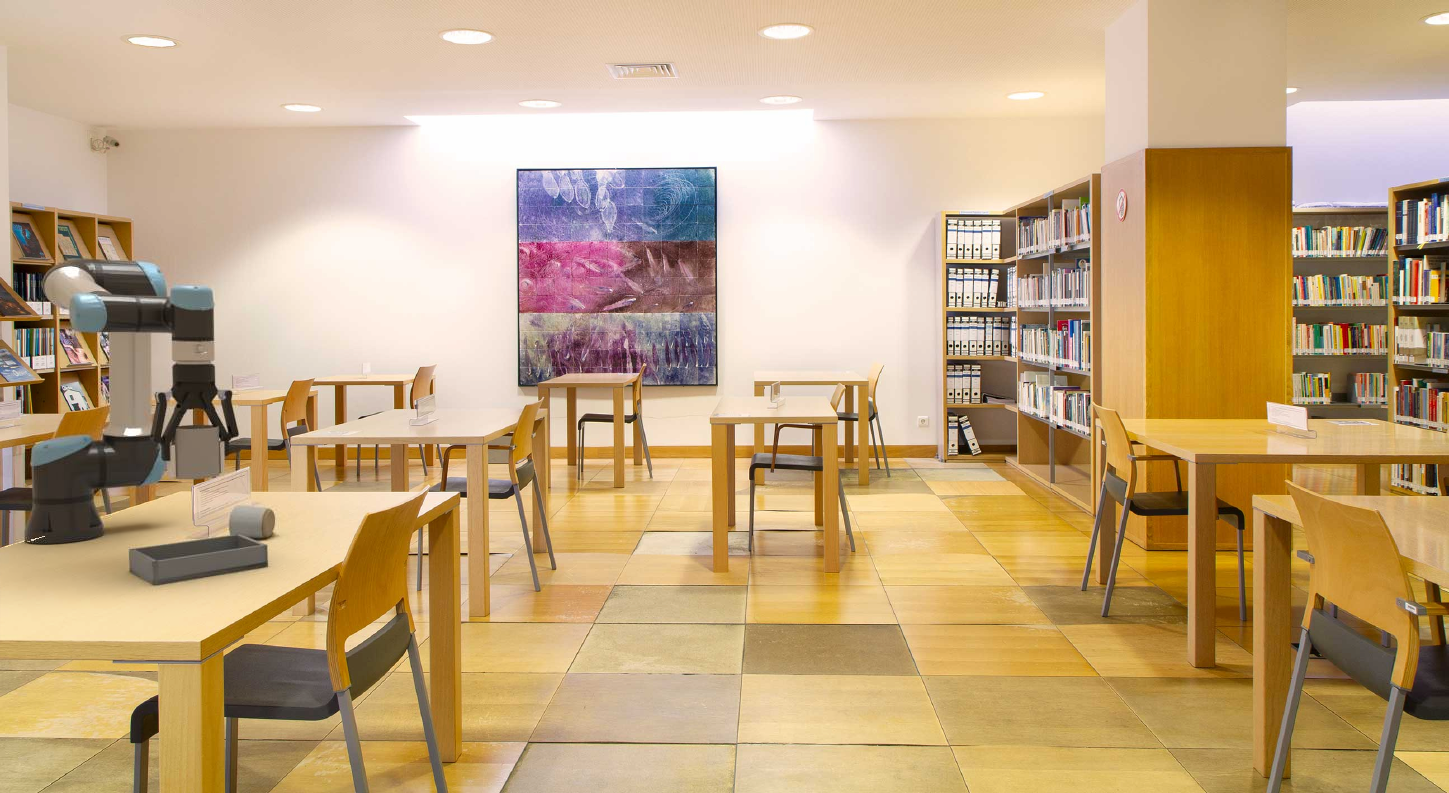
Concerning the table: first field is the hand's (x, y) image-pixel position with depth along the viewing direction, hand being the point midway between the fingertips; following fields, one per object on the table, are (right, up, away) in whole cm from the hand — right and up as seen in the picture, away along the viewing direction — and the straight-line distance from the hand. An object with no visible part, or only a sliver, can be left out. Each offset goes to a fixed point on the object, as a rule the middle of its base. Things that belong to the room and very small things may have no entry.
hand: (196, 474), depth 191 cm
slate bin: (0, -19, +1) cm, 19 cm away
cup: (0, -1, 0) cm, 1 cm away
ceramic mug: (-4, -18, +32) cm, 37 cm away
